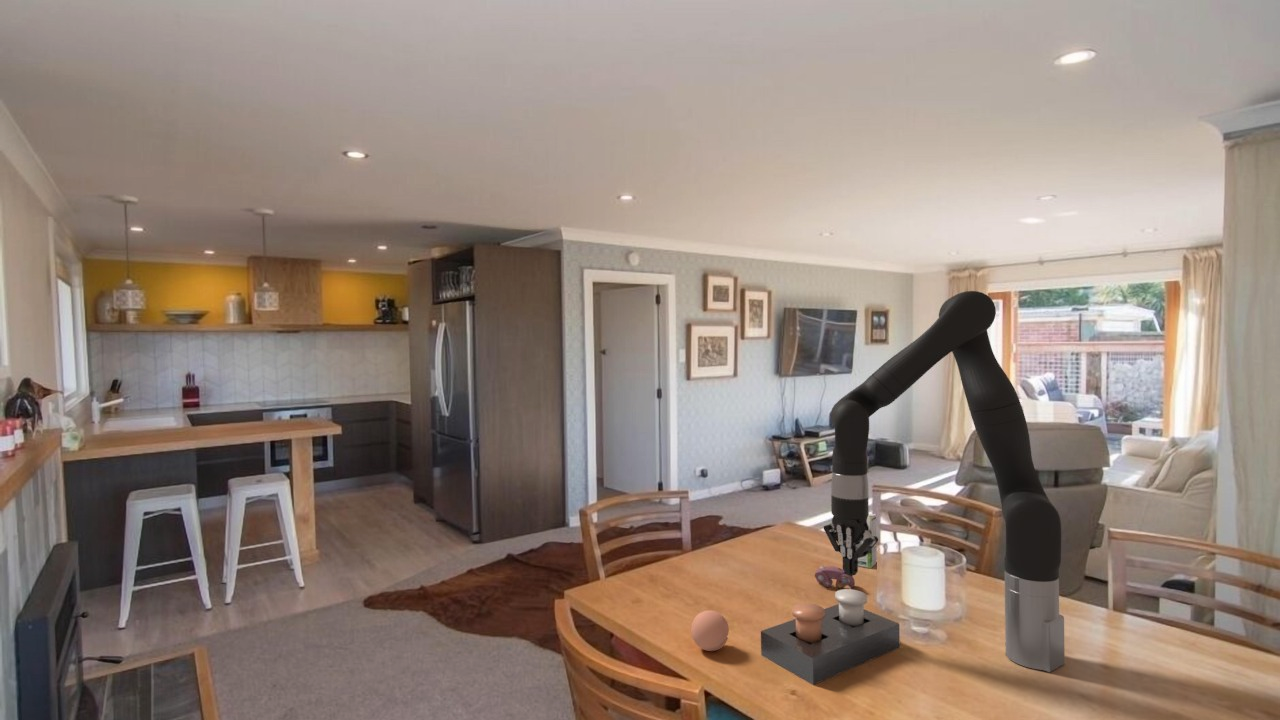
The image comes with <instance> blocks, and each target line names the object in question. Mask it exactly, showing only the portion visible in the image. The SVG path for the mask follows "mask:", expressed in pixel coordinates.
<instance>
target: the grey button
mask: <svg viewBox="0 0 1280 720" xmlns="http://www.w3.org/2000/svg"><path fill="white" fill-rule="evenodd" d="M834 594H835V595H834V596H835V599H834V600H836V601H837V602H838V604H839V621H840V622H842V623H844V624H846V625H849V626H859V625H862V624H863V623H864V610H865V608H864V605H866V604H867V603H868V596H867V594H866V593H865V592H863V591H859V590H857V589H852V588H851V589H850V588H848V589H846V588H843V589H839V590H837V591H835V593H834Z"/></svg>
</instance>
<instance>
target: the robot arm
mask: <svg viewBox="0 0 1280 720" xmlns="http://www.w3.org/2000/svg"><path fill="white" fill-rule="evenodd" d="M938 312H939V313H938V318H936V320H935V321H934V322H933V324H931V325H930V327H929V328H927V330H925V332H923V333H922V334H921V335H920V336H918V337H917V338H916V339H915V340H914V341H912V342H911V343H910V344H908V345H907V346H905V347H904V348H903V349H902V350H900V351H899V352H897V353H895V354H894V355H893V356H892V357H891V358H889V359H888V360H886V362H884V363H883V364H882V365H881V366H880V367H879V368H877V369H876V370H875V371H874V372H873V373H871V375H869V376H868V377H867V378H866V380H865V381H863V382H862V383H861V384H859V385H858V386H856V387H855V388H853V389H852V390H851V391H849V392H848V393H847V394H845V395H844V396H842V397H841V398H840V399H839V400H838V401H837V402H835V403H834V405H833V406H832V408H831V411H830V421H831V422H832V425H833V426H834V447H833V449H832V461H831V462H832V466H831V467H832V475H831V481H830V482H831V485H830V489H831V490H830V492H831V494H830V498H831V499H830V501H831V504H830V505H831V507H830V509H831V515H833V516H832V518H831V522H830V523H829V524H826V525H823V531H824V532H825V534H826V537H827V538H828V540H829V542H830V544H831V546H832V547H833V550H834V552H836V553H837V552H838V553H840V555H841V557H842V569H843V571H844V574H846V575H849V576H853V577H854V576H855V575H857V573H858V571H859V566H858V558H860V557H864V556H866V555H867V554H868V553H869V551H870V550H871V549H872V548H873V547H874V545H875V544H876V545H877V543H878V541H879V538H878V537H877V535H876V536H874V537H873V536H872V535H871V534H870V532H869V531H868V530H869V527H868V524H867V517H868V515H869V514H870V513H869V480H868V479H869V478H868V456H867V451H868V450H867V449H868V448H867V447H868V443H869V442H868V441H869V434H870V417H871V416H872V415H874V414H875V413H876V412H877V411H879V410H880V409H882V408H885V407H888V406H890V405H891V404H892V403H894V402H895V401H896V400H897V399H898V398H899V397H900V396H902V394H904V393H905V392H906V391H907V390H908V389H909V388H911V387H912V386H913V385H914V384H915V383H916V382H917V381H919V380H920V379H921V378H922V377H923V376H924V375H925V374H926V373H927V372H928V371H929V370H931V369H932V368H933V367H934V366H935V365H936V364H938V363H939V362H940V361H941V360H942V359H944V358H945V357H946V356H948V355H949V354H950V353H952V355H953V357H954V359H955V362H956V365H957V368H958V372H959V376H960V381H961V384H962V387H963V391H964V395H965V398H966V399H965V400H966V401H967V402H966V403H967V405H968V410H969V412H970V416H971V419H972V422H973V426H974V428H975V431H976V433H977V436H978V439H979V442H980V444H981V445H982V449H983V451H984V453H985V454H986V456H987V458H988V460H989V462H990V463H989V464H991V467H992V469H993V470H992V471H993V473H994V476H995V479H996V484H997V488H998V492H999V493H998V494H999V498H1000V504H1001V511H1002V516H1003V519H1004V521H1005V554H1004V563H1003V565H1004V625H1005V628H1004V629H1005V630H1004V631H1005V636H1004V637H1005V642H1004V645H1005V656H1006V657H1007V658H1008V659H1009V660H1010V661H1011V662H1013V663H1016V664H1018V665H1020V666H1023V667H1025V668H1030V669H1034V670H1040V671H1045V672H1047V673H1052V672H1053V671H1055V670H1057V669H1059V668H1060V667H1062V666H1064V665H1065V662H1066V661H1065V655H1066V654H1065V653H1066V652H1065V616H1064V615H1063V614H1060V578H1059V577H1060V568H1061V564H1062V521H1061V515H1060V513H1059V512H1058V510H1057V509H1056V507H1055V506H1054V504H1053V503H1052V502H1051V500H1050V499H1049V497H1048V496H1047V493H1046V491H1045V490H1044V488H1043V485H1042V483H1041V481H1040V478H1039V475H1038V473H1037V470H1036V469H1035V466H1034V462H1033V457H1032V449H1031V448H1032V447H1031V439H1030V438H1031V437H1030V433H1029V428H1028V423H1027V420H1026V416H1025V413H1024V410H1023V407H1022V404H1021V402H1020V401H1021V400H1020V398H1019V395H1018V393H1017V391H1016V389H1015V387H1014V385H1013V383H1012V382H1011V380H1010V379H1009V377H1008V375H1007V374H1006V372H1005V371H1004V369H1003V368H1002V367H1001V365H1000V363H999V362H998V360H997V358H996V356H995V354H994V350H993V349H992V346H991V342H990V338H989V333H988V329H990V327H991V326H992V324H993V323H994V321H995V318H996V316H997V315H996V313H997V310H996V304H995V303H994V301H993V299H992V298H991V297H990V296H989V295H987V294H985V293H984V292H982V291H977V290H968V291H963V292H960V293H957V294H955V295H953V296H951V297H950V298H948V299H947V300H945V301H944V302H943V304H942V305H941V307H940V309H939V311H938ZM863 537H864V538H863ZM862 539H863V540H862ZM862 542H863V543H862ZM861 544H862V545H861Z"/></svg>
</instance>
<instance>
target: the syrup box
mask: <svg viewBox="0 0 1280 720" xmlns="http://www.w3.org/2000/svg"><path fill="white" fill-rule="evenodd" d="M867 524H868V527H869V530H868V531H869V532H870V534H871V535H872V536H873V537H874V536H876V537H877V515H876V513H873V514H872V513H869V515H868V517H867ZM863 538H864V537H863ZM862 540H863V539H862ZM862 543H863V542H862ZM861 545H862V544H861ZM877 554H878V553H877V543H876V544H875V545H874V547H873V548H872V549H871V550H870V551H869V553H868V554H867V555H866V556H864V557H860V558H858V567H862V568H868V569H872V568H873V567H874V566H875V565H876V564H877V563H876V560H877V559H878V558H877V557H878V555H877ZM877 561H878V560H877Z"/></svg>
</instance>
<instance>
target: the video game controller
mask: <svg viewBox="0 0 1280 720" xmlns="http://www.w3.org/2000/svg"><path fill="white" fill-rule="evenodd" d="M814 577H815V579H816V581H817V583H819V584H820V583H822V584H823V585H824V586H825V587H826V588H827V587H828V588H831V587H832V585H833V582H834V581H833V580H836V581H835V587H836V588H837V589H839V590H842V589H845V587H846V586H848V587H849V588H854V587H855V585H856V584H855V583H856V582H855V578H854V575H853V576H849V575H846V574H844V571H843V568H840V567H837V566H835V565H833V566H832V565H830V566H825V567H824V566H823V565H821V566H820V567H818V568H817V569H816V570H815V571H814Z"/></svg>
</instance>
